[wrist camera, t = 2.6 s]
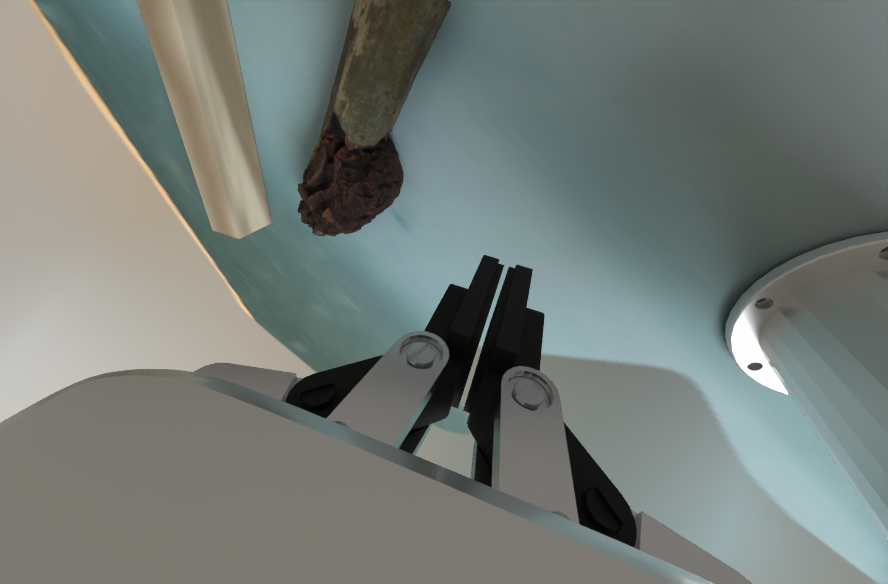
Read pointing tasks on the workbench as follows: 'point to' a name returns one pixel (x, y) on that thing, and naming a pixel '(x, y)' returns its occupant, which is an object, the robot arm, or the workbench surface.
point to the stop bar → (210, 108)
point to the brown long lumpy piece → (367, 114)
